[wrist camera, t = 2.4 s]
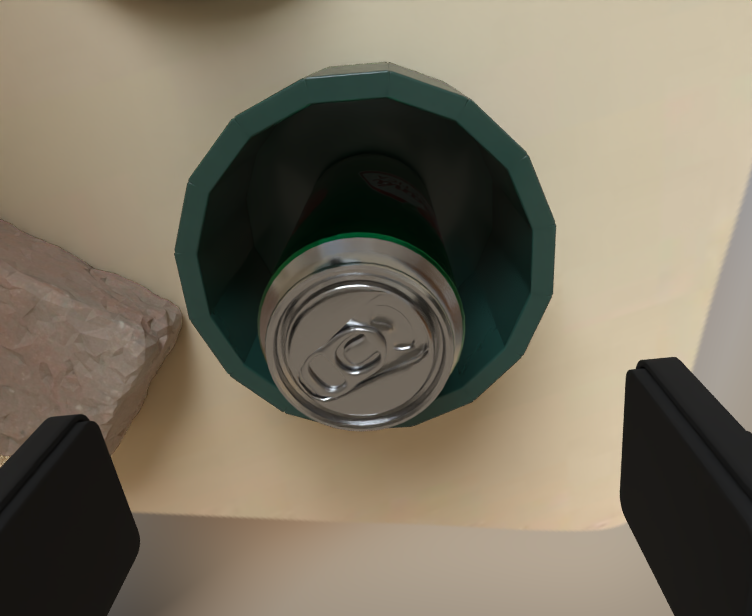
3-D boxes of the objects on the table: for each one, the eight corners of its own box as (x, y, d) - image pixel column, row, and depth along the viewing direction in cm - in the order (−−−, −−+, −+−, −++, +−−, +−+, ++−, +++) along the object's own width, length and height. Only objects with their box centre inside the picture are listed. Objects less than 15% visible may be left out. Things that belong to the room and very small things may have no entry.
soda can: (455, 225, 24) (514, 373, 13) (359, 292, 26) (342, 478, 15) (382, 124, 23) (380, 199, 12) (283, 201, 24) (201, 334, 13)
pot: (178, 150, 24) (98, 192, 17) (437, 4, 21) (462, -12, 15) (318, 370, 28) (297, 474, 21) (547, 268, 25) (605, 348, 19)
